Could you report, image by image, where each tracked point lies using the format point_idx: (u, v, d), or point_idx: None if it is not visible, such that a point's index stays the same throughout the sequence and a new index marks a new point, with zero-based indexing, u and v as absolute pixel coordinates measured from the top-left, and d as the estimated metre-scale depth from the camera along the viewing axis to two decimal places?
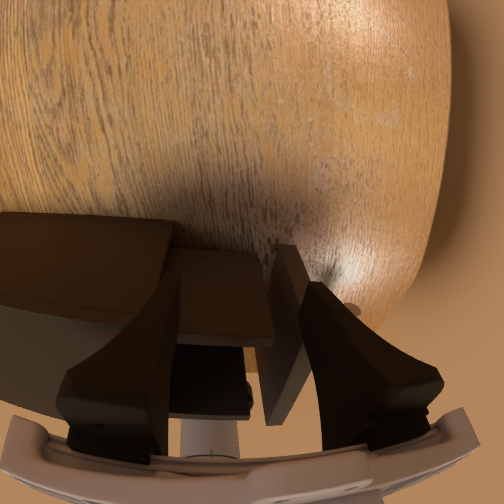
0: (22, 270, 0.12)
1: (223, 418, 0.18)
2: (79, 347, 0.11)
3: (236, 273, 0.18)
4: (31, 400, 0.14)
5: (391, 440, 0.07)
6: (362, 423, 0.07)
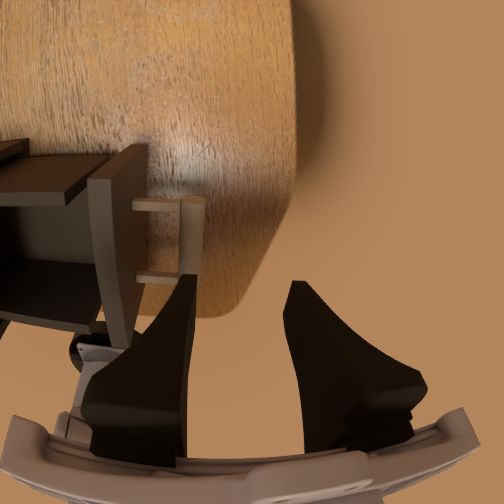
0: None
1: (64, 327, 0.15)
2: None
3: (76, 164, 0.15)
4: None
5: (371, 445, 0.07)
6: (340, 427, 0.07)
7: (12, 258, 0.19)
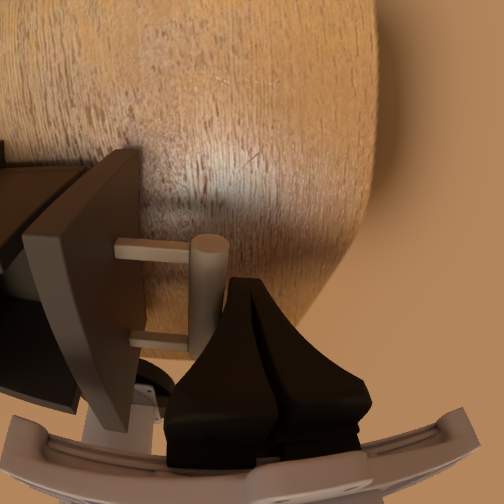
0: None
1: (42, 403, 0.10)
2: None
3: (35, 183, 0.10)
4: None
5: (305, 458, 0.06)
6: (273, 434, 0.07)
7: None
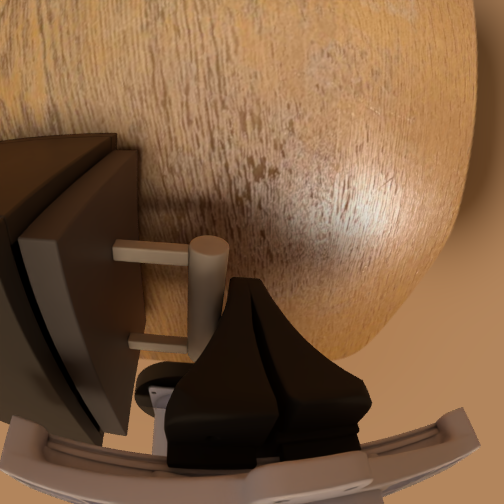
0: None
1: None
2: None
3: None
4: None
5: (305, 458, 0.06)
6: (273, 434, 0.07)
7: None
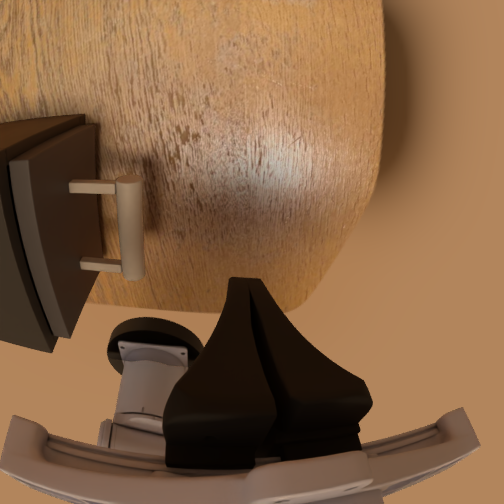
0: None
1: None
2: None
3: None
4: None
5: (306, 458, 0.06)
6: (274, 434, 0.07)
7: None
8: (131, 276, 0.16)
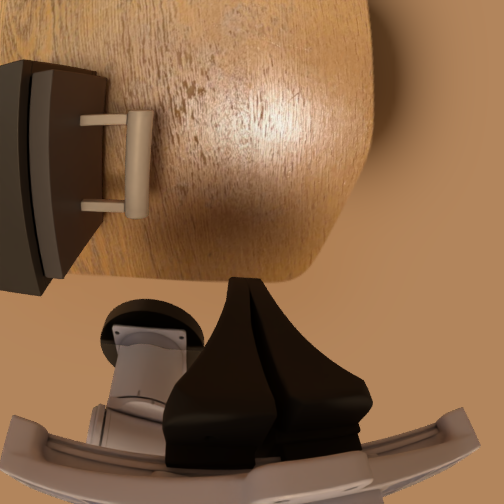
0: None
1: None
2: None
3: None
4: None
5: (306, 458, 0.06)
6: (274, 434, 0.07)
7: None
8: (134, 213, 0.16)
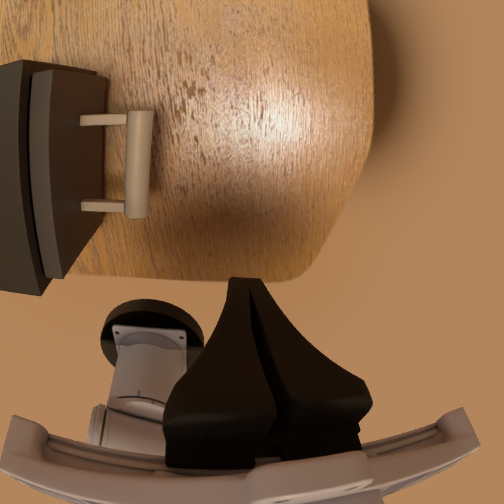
0: None
1: None
2: None
3: None
4: None
5: (306, 458, 0.06)
6: (274, 434, 0.07)
7: None
8: (134, 213, 0.16)
